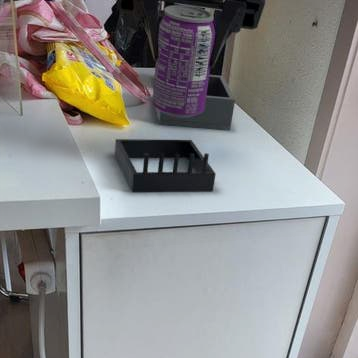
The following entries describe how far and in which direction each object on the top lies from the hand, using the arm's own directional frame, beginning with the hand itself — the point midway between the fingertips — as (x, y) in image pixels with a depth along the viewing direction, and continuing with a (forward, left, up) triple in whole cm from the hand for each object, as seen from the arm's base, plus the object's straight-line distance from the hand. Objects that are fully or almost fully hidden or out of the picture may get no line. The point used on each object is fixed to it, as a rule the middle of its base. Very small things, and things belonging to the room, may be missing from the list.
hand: (183, 62), depth 83 cm
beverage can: (-1, 0, -7) cm, 7 cm away
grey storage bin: (-22, +5, -14) cm, 26 cm away
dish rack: (+2, -2, -14) cm, 14 cm away
